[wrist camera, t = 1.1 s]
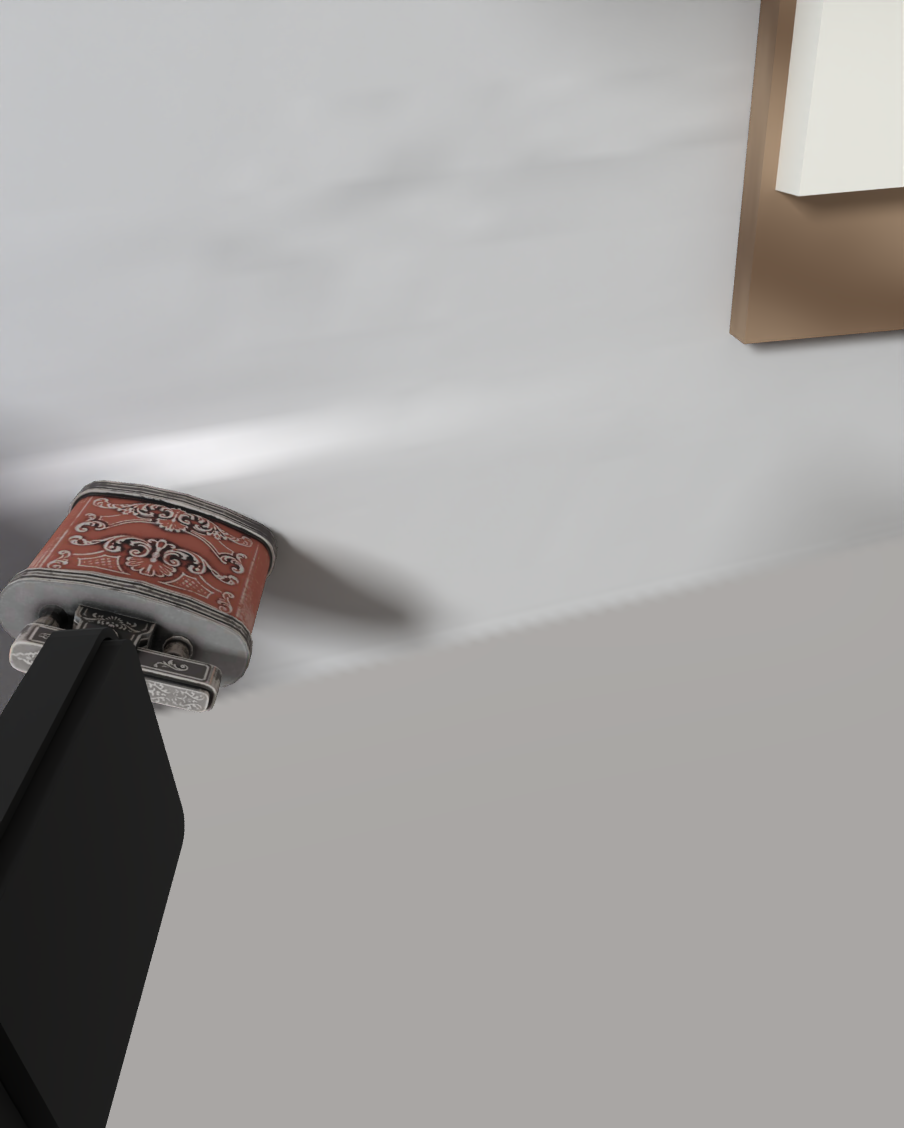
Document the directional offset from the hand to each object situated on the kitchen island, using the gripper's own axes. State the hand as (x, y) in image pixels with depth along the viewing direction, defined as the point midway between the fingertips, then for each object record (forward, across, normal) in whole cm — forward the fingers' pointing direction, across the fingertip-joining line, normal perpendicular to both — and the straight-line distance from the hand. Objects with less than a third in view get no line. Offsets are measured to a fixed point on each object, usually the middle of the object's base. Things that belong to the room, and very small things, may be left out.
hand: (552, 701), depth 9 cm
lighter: (+23, +11, +9) cm, 27 cm away
